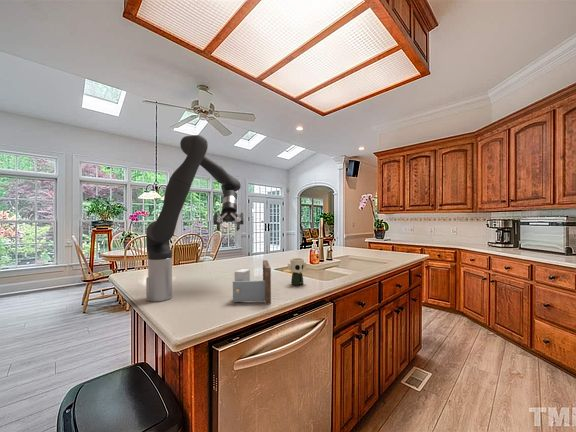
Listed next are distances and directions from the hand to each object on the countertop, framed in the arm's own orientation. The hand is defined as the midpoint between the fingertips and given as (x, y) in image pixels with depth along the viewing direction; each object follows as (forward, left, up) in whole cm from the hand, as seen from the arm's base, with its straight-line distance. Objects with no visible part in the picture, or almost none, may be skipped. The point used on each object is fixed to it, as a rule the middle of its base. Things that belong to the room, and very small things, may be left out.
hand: (228, 229), depth 122 cm
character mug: (+34, +5, -29) cm, 45 cm away
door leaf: (+10, -19, -28) cm, 35 cm away
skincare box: (+7, -13, -29) cm, 32 cm away
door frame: (+17, -12, -29) cm, 35 cm away
